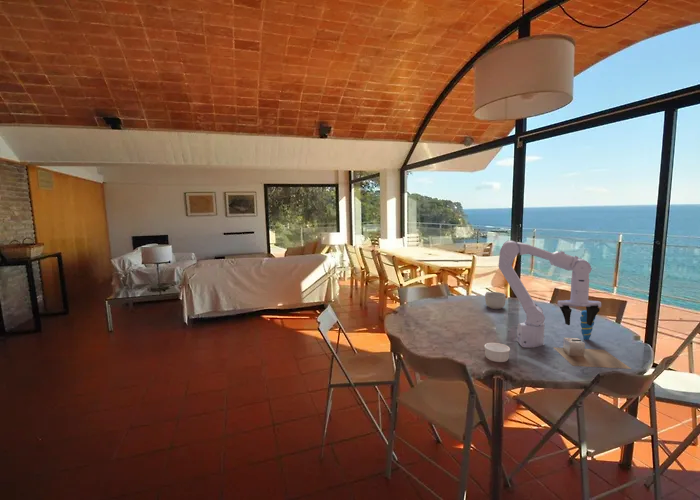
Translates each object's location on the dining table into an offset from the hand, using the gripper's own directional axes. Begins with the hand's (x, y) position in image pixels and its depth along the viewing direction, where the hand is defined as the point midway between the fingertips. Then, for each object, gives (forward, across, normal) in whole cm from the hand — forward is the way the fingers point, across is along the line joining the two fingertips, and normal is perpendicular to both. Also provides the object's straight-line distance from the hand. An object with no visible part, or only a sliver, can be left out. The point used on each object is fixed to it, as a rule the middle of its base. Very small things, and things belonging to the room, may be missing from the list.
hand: (578, 324), depth 131 cm
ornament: (+11, +8, +9) cm, 16 cm away
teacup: (+10, -16, +60) cm, 63 cm away
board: (+10, 0, -10) cm, 14 cm away
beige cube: (+9, -4, -7) cm, 12 cm away
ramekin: (+10, -32, -11) cm, 36 cm away
